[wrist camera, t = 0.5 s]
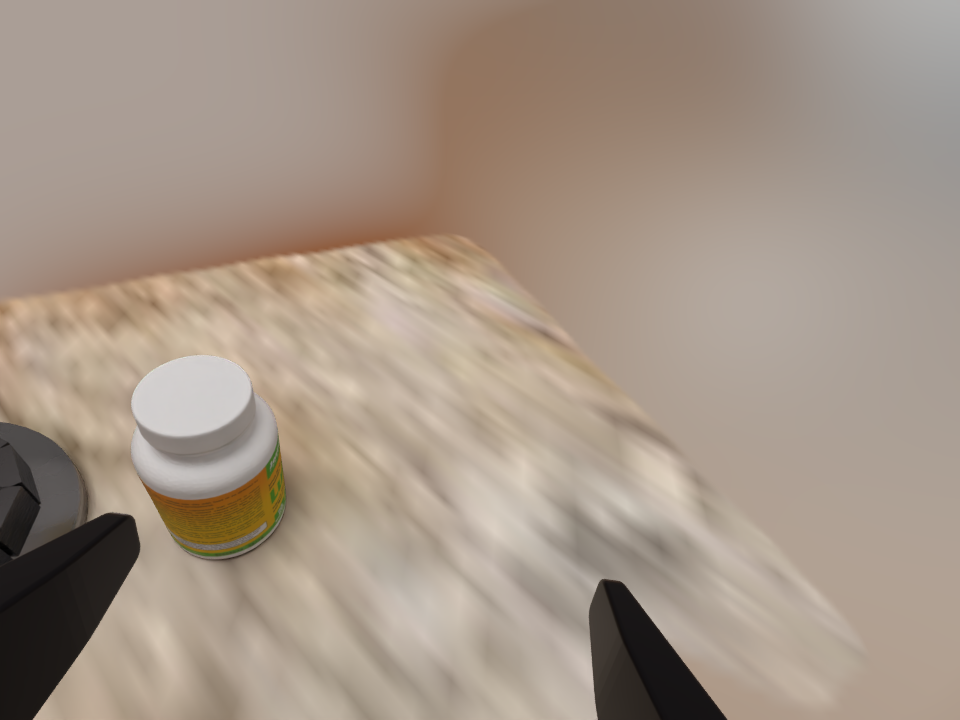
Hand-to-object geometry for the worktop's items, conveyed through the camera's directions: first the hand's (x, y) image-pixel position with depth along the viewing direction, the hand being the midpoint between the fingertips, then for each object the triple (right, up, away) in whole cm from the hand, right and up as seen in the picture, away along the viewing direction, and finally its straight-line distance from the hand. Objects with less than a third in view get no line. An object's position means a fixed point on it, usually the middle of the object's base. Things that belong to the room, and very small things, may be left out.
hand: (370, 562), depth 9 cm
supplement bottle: (-11, -4, +16) cm, 19 cm away
